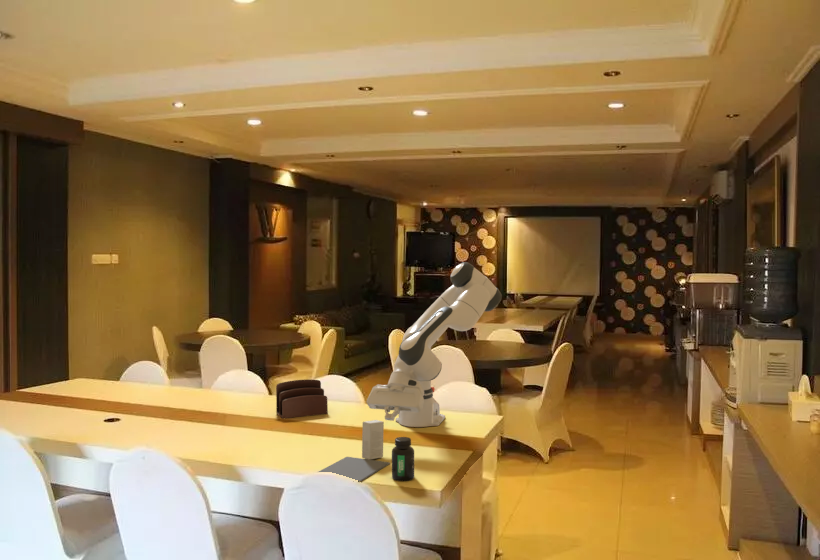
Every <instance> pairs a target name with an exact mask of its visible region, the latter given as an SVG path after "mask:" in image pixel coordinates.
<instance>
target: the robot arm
mask: <svg viewBox="0 0 820 560" xmlns="http://www.w3.org/2000/svg"><path fill="white" fill-rule="evenodd" d="M449 279H450V282H451V283H452V285H451V286H450V287H448V288H447V289H446V290H445V291H444V292H442V293H441V294H440V296H439V297H438V298H437V299H436V300H435V301H434V302H433V303H432V304H431V305H430V306H429V307H428V308H427V309H426V310H425V311H424V312H423V314H422V315H420V317H419V318H418V319H417V320H416V321H415V322H414V323H413V324H412V325H411V326H410V327H408V328H407V330H406V331H405V333H404V334H403V337H402V340H401V343H400V344H399V348H398V354H397V357H396V359H395V362H394V365H393V371H392V372H391V374H390V377H389V379H388V382H387V384H376V385H374V386H372V388H371V391H370V393H369V395H368V397H367V399H366V405H367V407H369V409H372V410H384V412H385V415H384V419H385V421H393V422H394V421H395V422H397V423H398V424H399V425H402V426H403V427H410V428H411V427H412V428H414V427H415V428H423V427H424V428H426V427H434V426H435V427H437V426H440V424H441V423H442V422H443V421H444V420H445V419H446V415H445V414H443V413H441V412H440V411H441V410H440V403H439V402H438V401H437V400H436V399H435V398H434V392H435V390H436V388H435V386H432V381H433V380H435V379H436V378H437V377H439V375H440V374H441V370H442V364H443V363H442V362H441V361H440V359H439V358H438V357H437V355H436V354H435V353H434V352H433V350H432V346H433V345H434V344H435V343H436V342H437V341H438V339H439V338H441V337H442V335H443V334H444V333H445V332H446V330H448V328H450V329H451V330H455V331H457V332H466V331H469V330H471V329H472V328H474V327H475V325H476V324H477V323H478V321H479V320H480V318H481V317H482V316H483V314H484V313H485V312H491V311H493V310H494V309H496V308H497V307H498V306H499V305H500V303H501V301H502V297H503V295H502V293H501V291H500V289H499V288H498V287H496V285H495V284H494V283H493V282H492V281H491V280H490V279H489V278H488V277H487V276H486V275H484V274H483V273H482V272H480V270H478V269H477V268H476V267H474V265H473V264H471V263H470V262H468V261H465V262H461V263H459V264H458V265H456V266H455V267H454V268H453V270H452V272H451V273H450V276H449ZM391 411H392V413H391ZM397 416H398V417H397Z"/></svg>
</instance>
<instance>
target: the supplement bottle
mask: <svg viewBox="0 0 820 560" xmlns="http://www.w3.org/2000/svg"><path fill="white" fill-rule="evenodd" d="M391 478H392V480H394V481H397V482H409V481H413V480H414V478H415V449H414V448H413V447H412V439H411V438H410V437H407V436H400V437H399V436H398V437H396V438H395V439H394V447H392V449H391Z"/></svg>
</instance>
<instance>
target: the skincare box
mask: <svg viewBox="0 0 820 560" xmlns="http://www.w3.org/2000/svg"><path fill="white" fill-rule="evenodd" d="M361 431H362V437H361V438H362V439H361V441H362V442H361V443H362V444H361V451H362V453H361V459H368V460H375V459H380V458H384V421H382V420H378V419H372V420H366V421H363V422H362V430H361Z"/></svg>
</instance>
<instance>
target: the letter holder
mask: <svg viewBox="0 0 820 560" xmlns="http://www.w3.org/2000/svg"><path fill="white" fill-rule="evenodd" d="M275 388H276V389H275V390H276V391H275V397H276V403H275V404H276V406H275V407H276V411H275V412H276V415H277V416H279V417H280V418H281V419H282V420H283V419H292V418H300V417H311V416H318V415H319V416H320V415H328V413H329V411H328V409H329V408H328V405H329V404H328V396H327V395H325V389H324V388H322V383H321V380H319V379H309V378H308V379H297V380H296V379H294V380H287V381H283V382H279V383H277V384H276V387H275Z"/></svg>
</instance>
